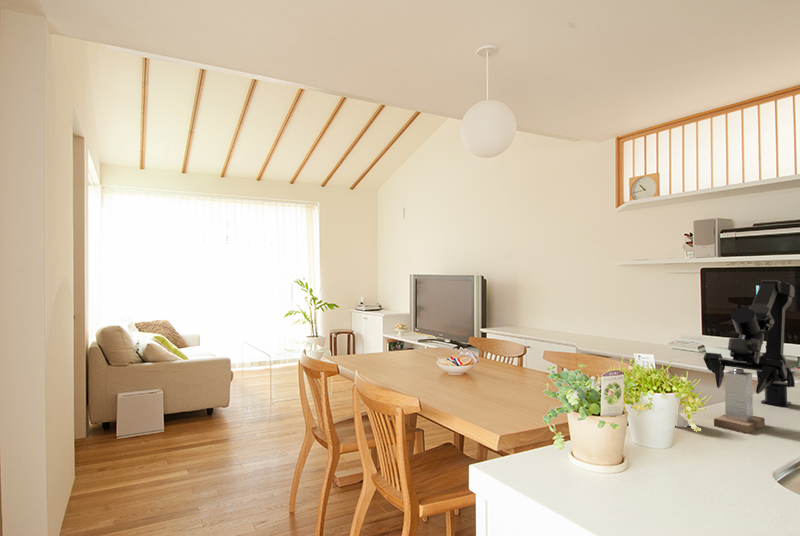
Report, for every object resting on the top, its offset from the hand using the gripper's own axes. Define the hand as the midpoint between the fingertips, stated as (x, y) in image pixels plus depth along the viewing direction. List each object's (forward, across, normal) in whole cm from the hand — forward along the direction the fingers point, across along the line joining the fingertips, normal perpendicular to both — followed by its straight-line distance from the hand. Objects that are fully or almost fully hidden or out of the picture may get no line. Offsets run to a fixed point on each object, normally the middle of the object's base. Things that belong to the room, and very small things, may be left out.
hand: (737, 389), depth 133 cm
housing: (+5, 0, +7) cm, 8 cm away
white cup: (+14, -12, 0) cm, 18 cm away
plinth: (+6, 0, +8) cm, 10 cm away
